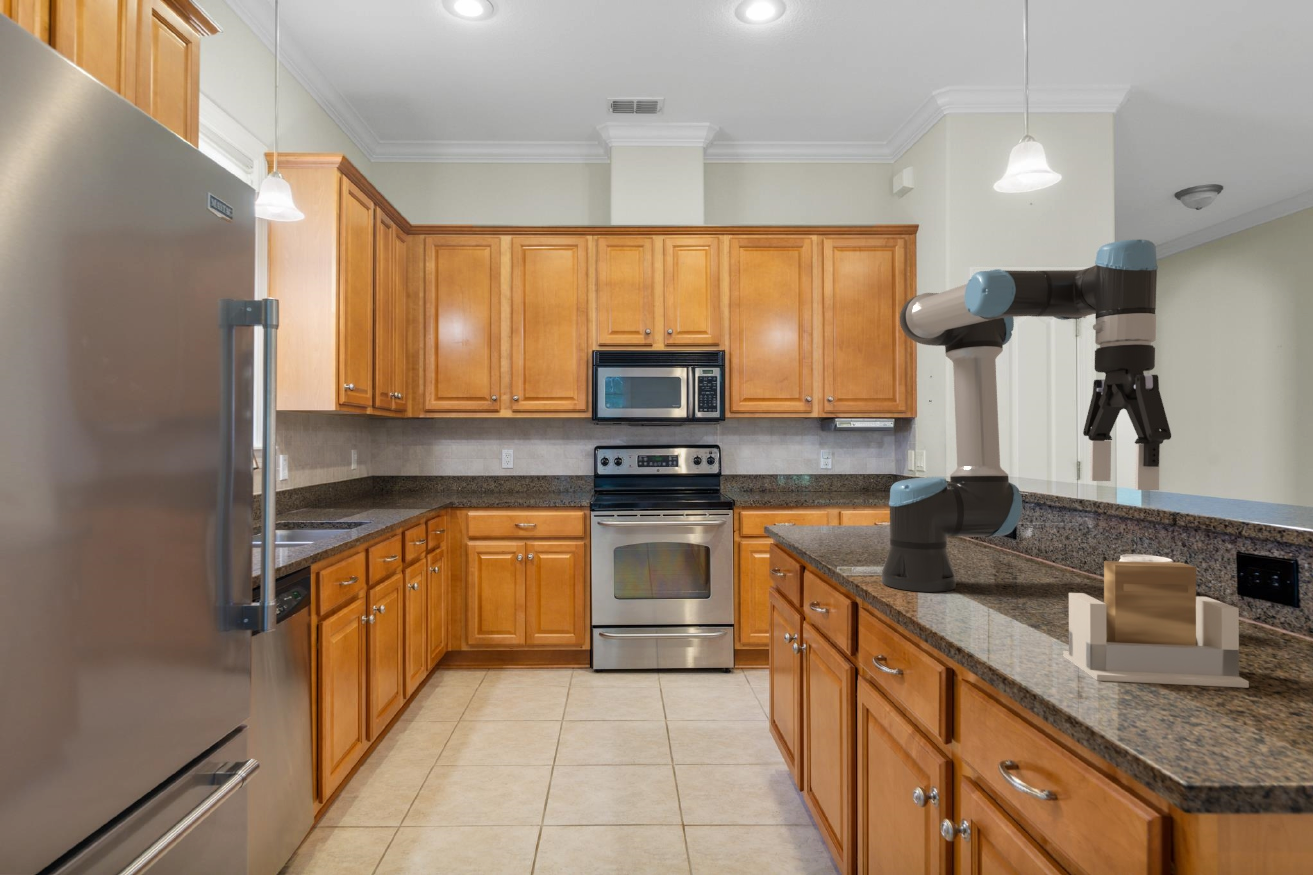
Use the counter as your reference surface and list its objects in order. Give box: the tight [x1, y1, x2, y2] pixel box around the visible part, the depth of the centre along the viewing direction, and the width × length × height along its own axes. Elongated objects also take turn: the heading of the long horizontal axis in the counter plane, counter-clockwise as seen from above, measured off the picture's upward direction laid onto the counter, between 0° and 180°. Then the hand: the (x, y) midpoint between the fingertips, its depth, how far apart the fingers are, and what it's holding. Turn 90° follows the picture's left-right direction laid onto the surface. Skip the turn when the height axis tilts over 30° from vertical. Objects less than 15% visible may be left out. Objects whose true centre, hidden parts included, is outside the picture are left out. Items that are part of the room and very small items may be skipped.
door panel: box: [1103, 560, 1197, 646], centre depth 93 cm, size 3×10×14 cm, turn 81°
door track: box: [1062, 592, 1250, 689], centre depth 93 cm, size 10×18×10 cm, turn 81°
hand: (1121, 485), depth 102 cm, fingers open, 13 cm apart
